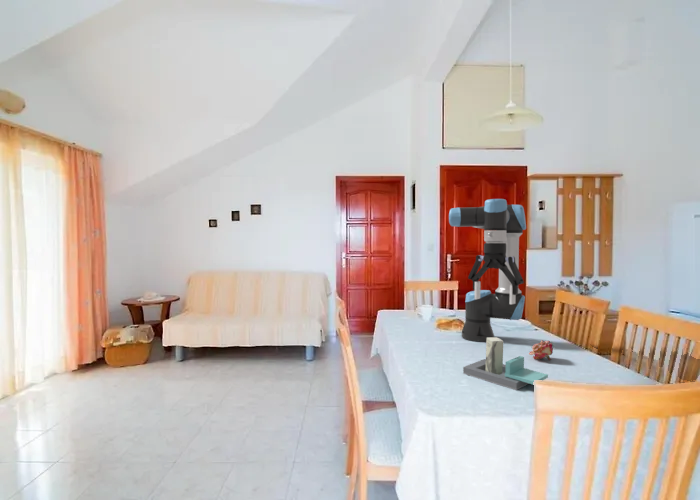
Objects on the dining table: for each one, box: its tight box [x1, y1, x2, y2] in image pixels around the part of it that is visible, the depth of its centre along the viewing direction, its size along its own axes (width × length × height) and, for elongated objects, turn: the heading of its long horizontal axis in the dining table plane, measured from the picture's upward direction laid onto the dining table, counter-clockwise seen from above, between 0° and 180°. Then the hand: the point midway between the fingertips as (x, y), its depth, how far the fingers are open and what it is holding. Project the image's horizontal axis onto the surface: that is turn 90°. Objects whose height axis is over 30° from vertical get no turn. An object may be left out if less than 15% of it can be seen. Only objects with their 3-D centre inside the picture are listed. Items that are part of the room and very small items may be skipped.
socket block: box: [462, 358, 529, 391], centre depth 139 cm, size 20×14×2 cm
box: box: [485, 336, 504, 375], centre depth 141 cm, size 5×4×13 cm
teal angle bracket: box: [505, 355, 549, 385], centre depth 132 cm, size 10×10×5 cm
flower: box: [528, 340, 554, 362], centre depth 158 cm, size 10×9×8 cm
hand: (494, 301), depth 141 cm, fingers open, 13 cm apart
